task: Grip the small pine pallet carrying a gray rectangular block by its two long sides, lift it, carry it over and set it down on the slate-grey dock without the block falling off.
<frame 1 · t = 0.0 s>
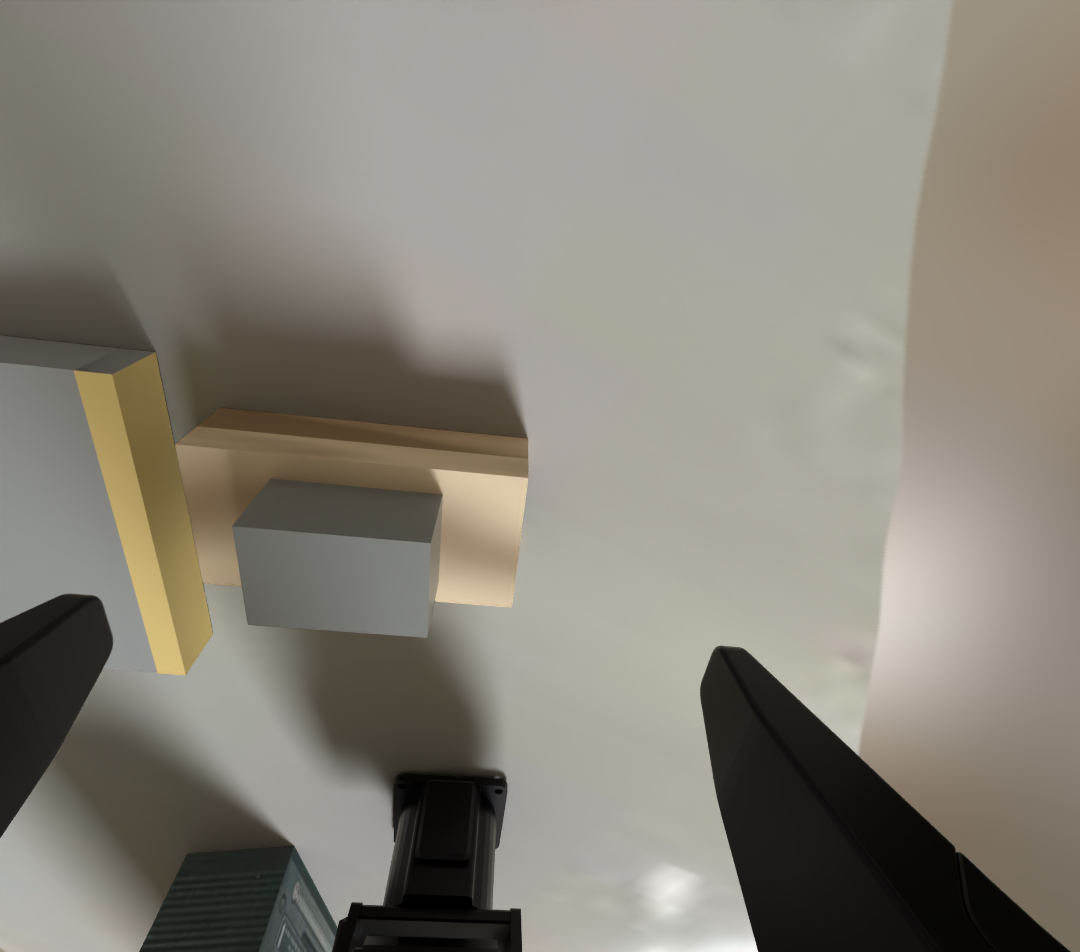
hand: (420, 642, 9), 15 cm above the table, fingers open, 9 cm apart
gray rectangular block: (359, 533, 21), point 3 cm above the table, touching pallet
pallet: (379, 486, 24), on the table, touching gray rectangular block
cassette player: (307, 951, 44), on the table
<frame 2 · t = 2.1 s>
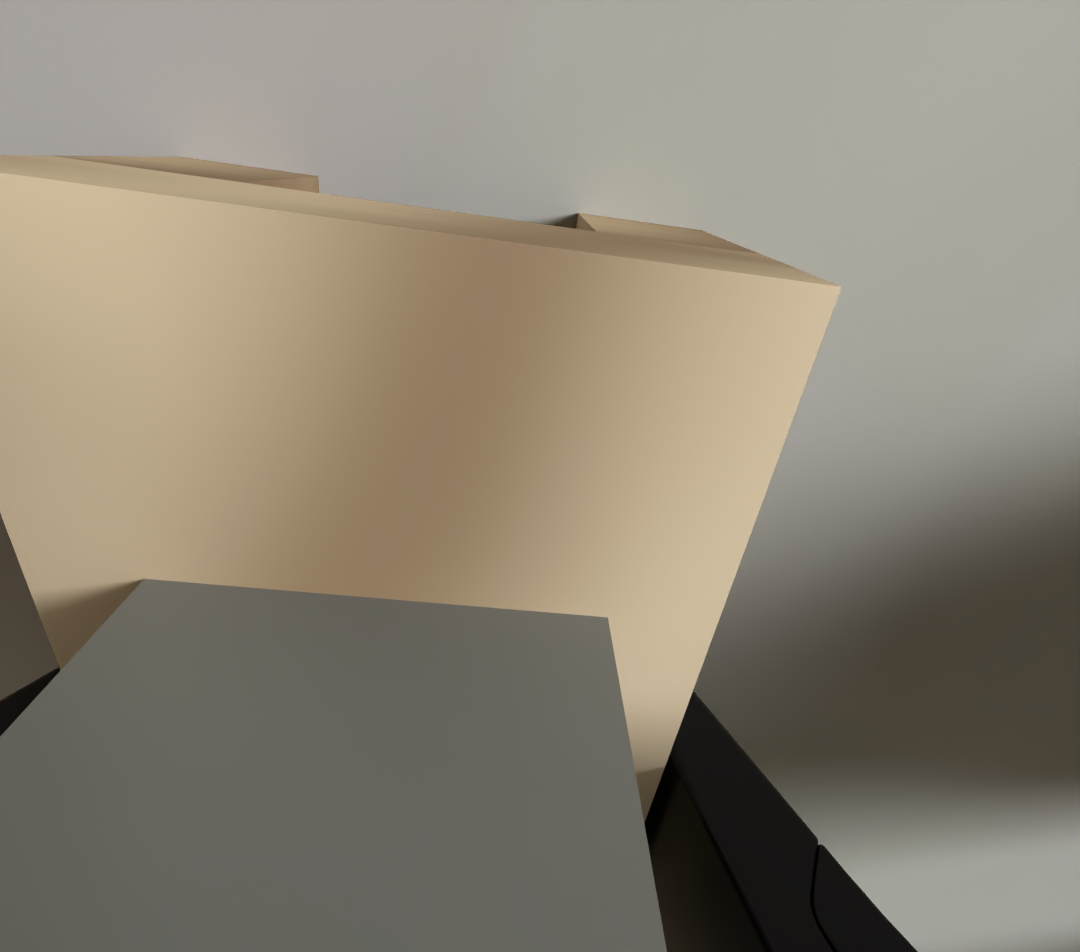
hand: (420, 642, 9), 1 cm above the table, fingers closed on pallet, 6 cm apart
gray rectangular block: (384, 803, 6), point 3 cm above the table, touching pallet
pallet: (430, 594, 10), on the table, touching gray rectangular block, gripper
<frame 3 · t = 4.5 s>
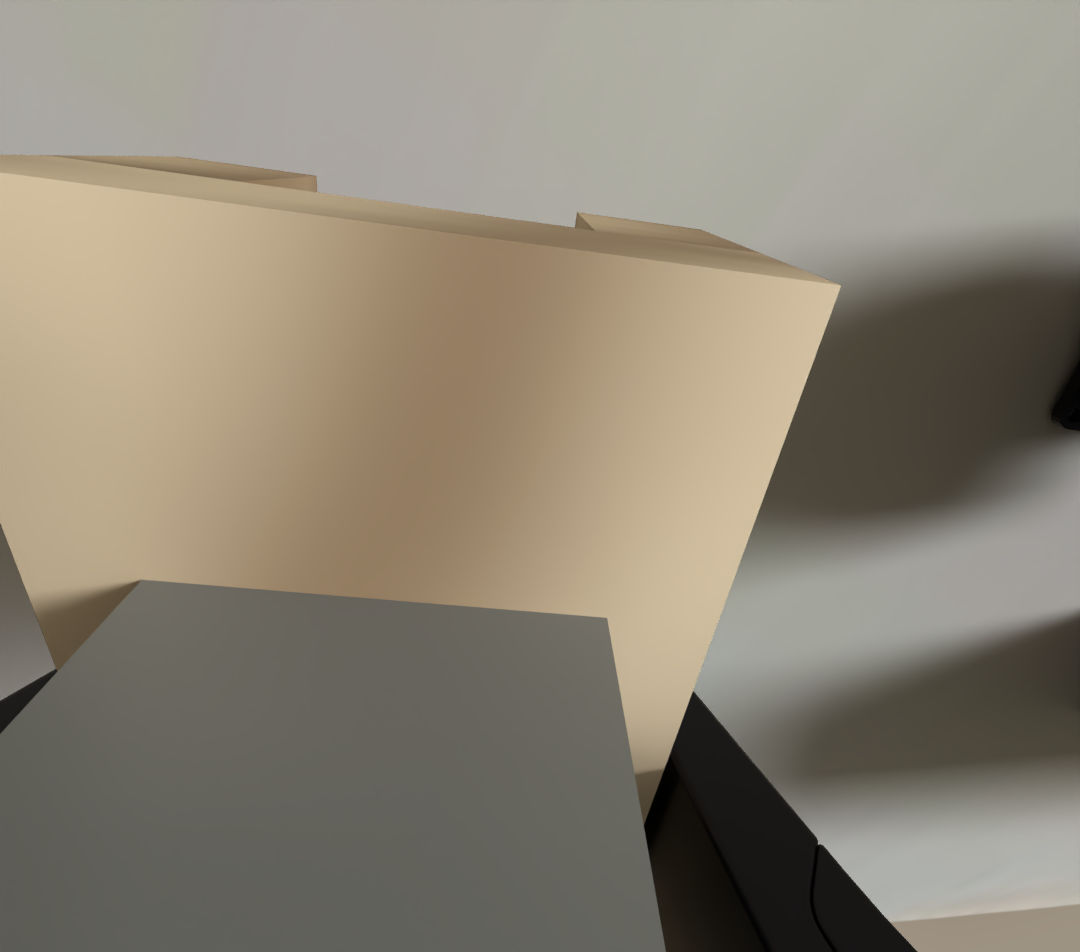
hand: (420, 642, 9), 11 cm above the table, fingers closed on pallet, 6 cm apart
gray rectangular block: (383, 805, 6), point 13 cm above the table, touching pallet
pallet: (430, 595, 9), point 10 cm above the table, touching gray rectangular block, gripper
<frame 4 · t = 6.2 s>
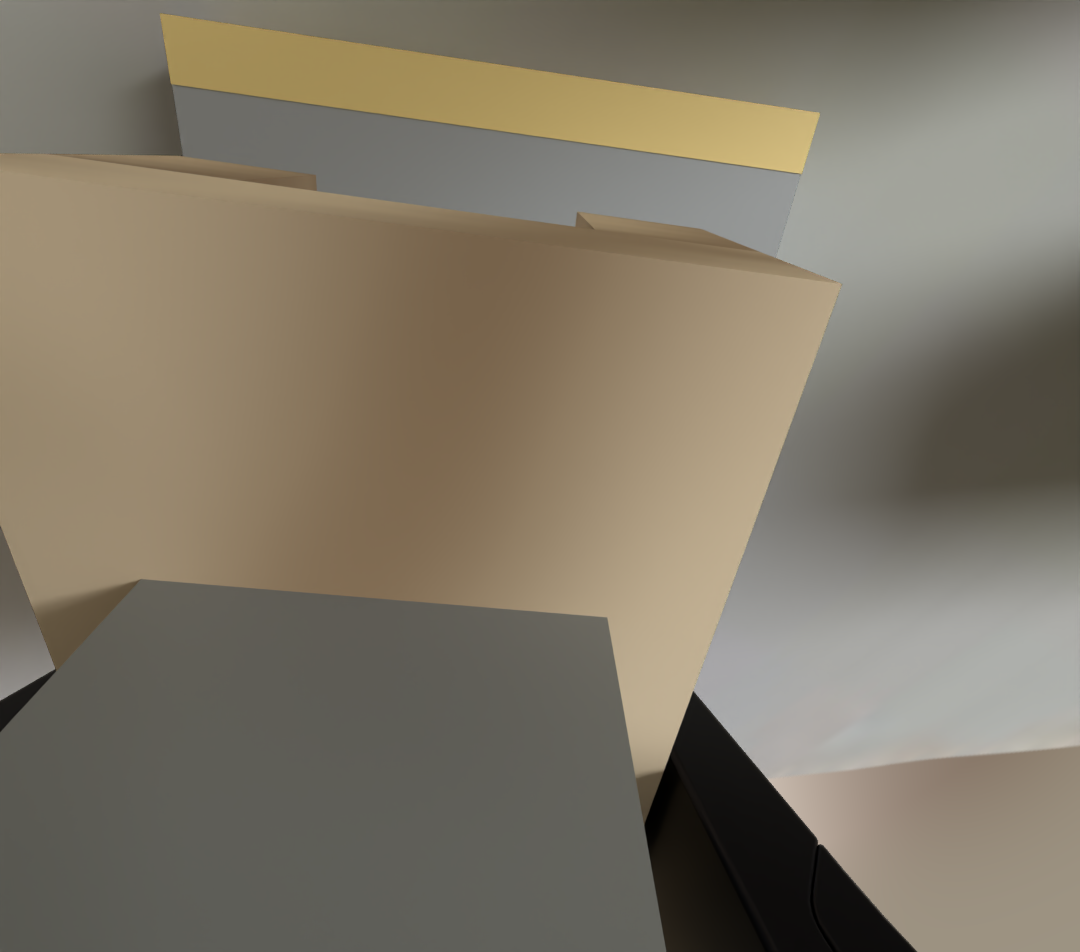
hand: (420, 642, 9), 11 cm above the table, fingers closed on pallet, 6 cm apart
dock: (481, 411, 19), on the table
gray rectangular block: (383, 804, 6), point 14 cm above the table, touching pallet
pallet: (430, 595, 9), point 10 cm above the table, touching gray rectangular block, gripper
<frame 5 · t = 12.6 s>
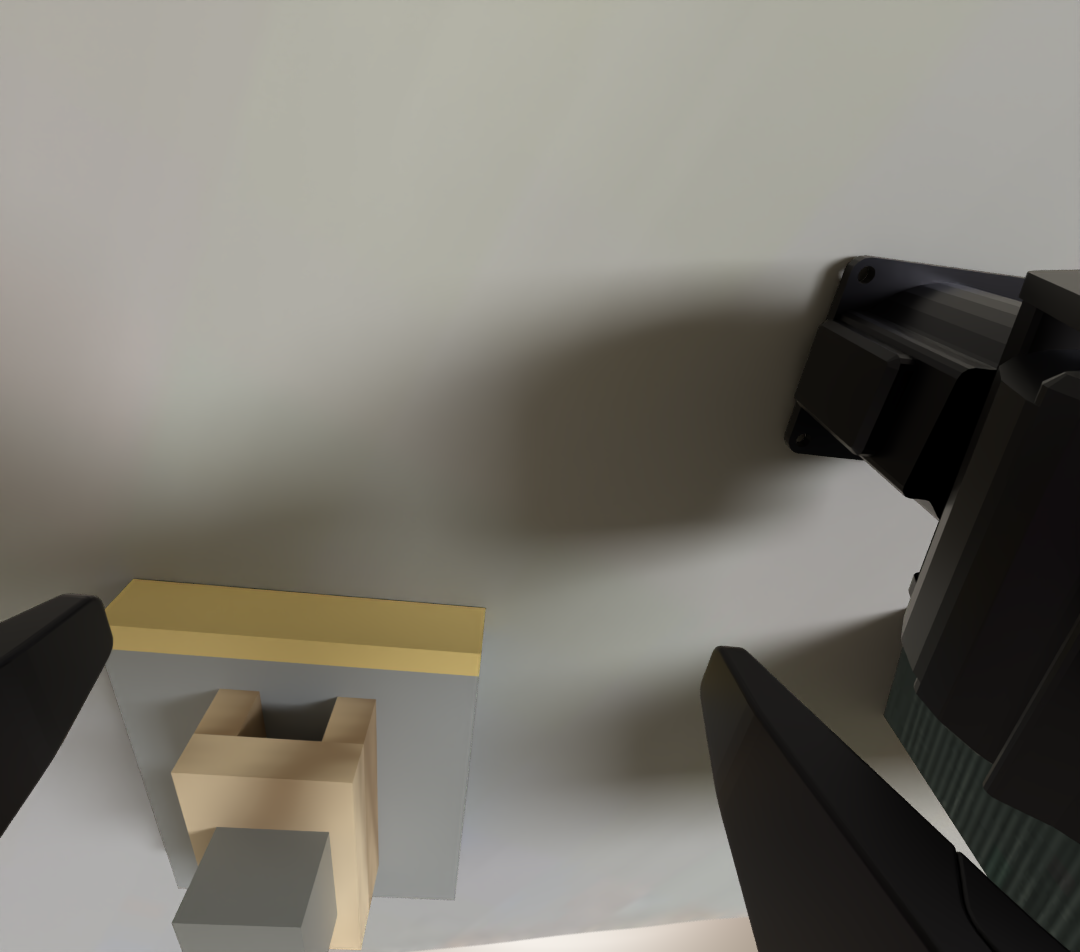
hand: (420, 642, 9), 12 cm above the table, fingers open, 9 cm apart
dock: (324, 738, 28), on the table
gray rectangular block: (281, 874, 22), point 6 cm above the table, touching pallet
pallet: (308, 787, 25), point 2 cm above the table, touching gray rectangular block, dock
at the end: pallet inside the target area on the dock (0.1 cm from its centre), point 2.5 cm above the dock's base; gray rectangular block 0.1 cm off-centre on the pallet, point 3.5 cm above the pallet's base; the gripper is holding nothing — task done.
